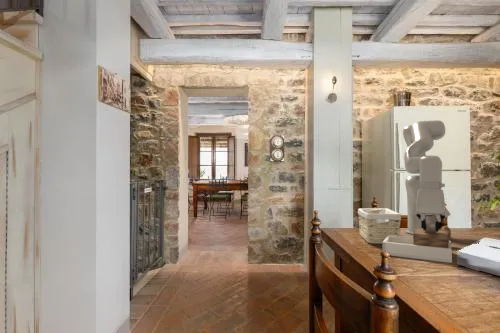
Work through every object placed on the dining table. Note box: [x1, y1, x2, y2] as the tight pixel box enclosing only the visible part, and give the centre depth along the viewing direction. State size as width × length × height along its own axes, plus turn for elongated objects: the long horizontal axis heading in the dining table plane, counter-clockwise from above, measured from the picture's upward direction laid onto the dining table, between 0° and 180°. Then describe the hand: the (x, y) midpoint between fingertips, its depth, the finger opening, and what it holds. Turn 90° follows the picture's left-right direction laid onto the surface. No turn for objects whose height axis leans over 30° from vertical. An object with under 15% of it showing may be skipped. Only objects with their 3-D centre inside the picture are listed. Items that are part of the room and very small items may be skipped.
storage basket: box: [357, 207, 402, 245], centre depth 161 cm, size 24×16×15 cm
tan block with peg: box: [412, 215, 450, 248], centre depth 131 cm, size 12×12×15 cm
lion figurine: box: [440, 225, 452, 240], centre depth 143 cm, size 15×5×9 cm, turn 117°
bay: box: [381, 235, 453, 264], centre depth 133 cm, size 25×17×5 cm
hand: (430, 230), depth 131 cm, fingers closed on tan block with peg, 4 cm apart
